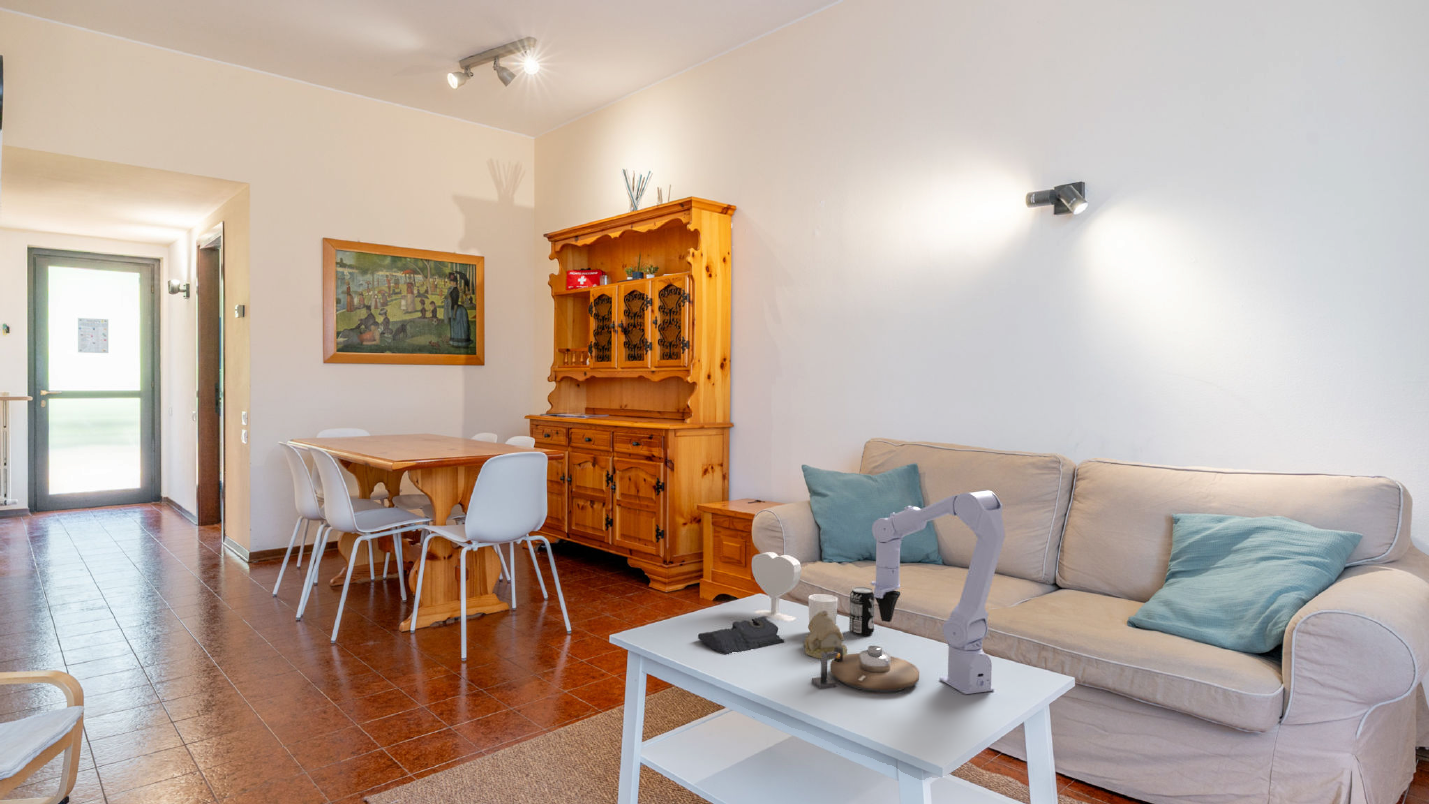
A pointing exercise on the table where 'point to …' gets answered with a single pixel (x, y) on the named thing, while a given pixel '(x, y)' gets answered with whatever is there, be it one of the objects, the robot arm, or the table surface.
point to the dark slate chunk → (743, 636)
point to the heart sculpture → (775, 579)
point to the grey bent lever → (825, 672)
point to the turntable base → (874, 689)
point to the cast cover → (874, 660)
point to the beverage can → (861, 611)
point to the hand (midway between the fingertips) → (886, 620)
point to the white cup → (823, 605)
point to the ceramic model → (823, 636)
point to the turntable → (851, 673)
